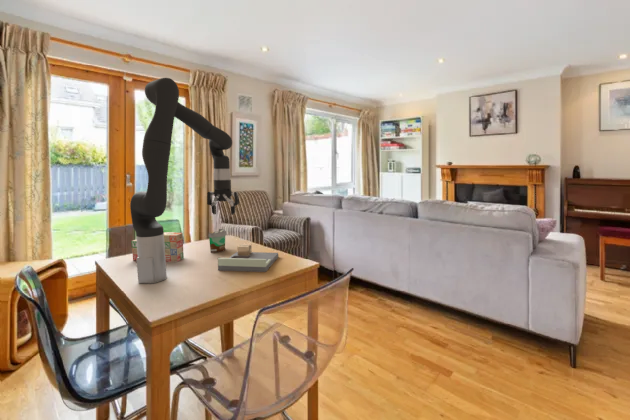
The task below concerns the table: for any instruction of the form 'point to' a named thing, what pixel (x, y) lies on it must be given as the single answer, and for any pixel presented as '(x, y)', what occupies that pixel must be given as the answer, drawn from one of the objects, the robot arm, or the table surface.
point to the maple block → (244, 249)
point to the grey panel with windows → (248, 262)
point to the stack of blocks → (167, 247)
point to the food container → (217, 241)
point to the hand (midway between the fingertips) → (223, 214)
